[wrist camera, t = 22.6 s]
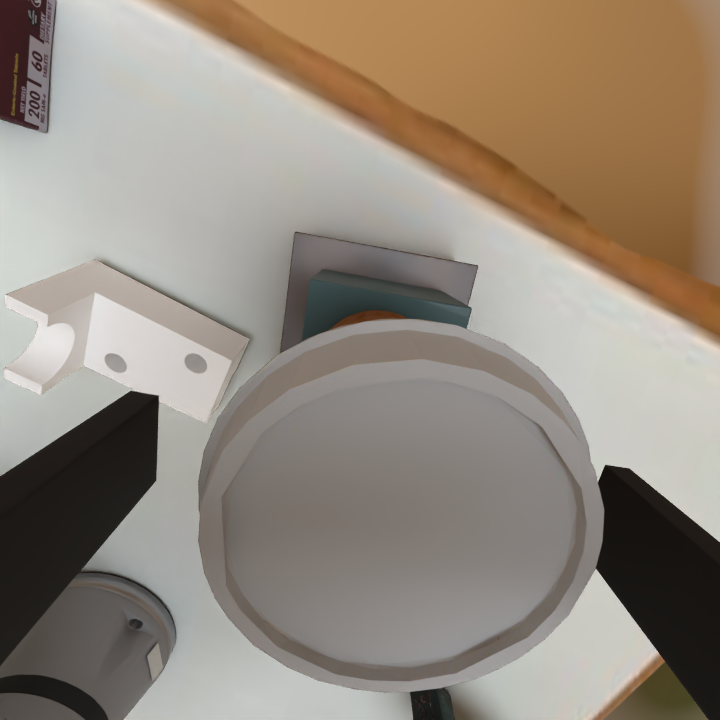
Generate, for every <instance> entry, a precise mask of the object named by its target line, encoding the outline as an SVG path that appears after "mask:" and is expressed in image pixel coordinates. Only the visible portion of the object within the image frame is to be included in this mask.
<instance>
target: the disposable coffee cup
mask: <svg viewBox="0 0 720 720" xmlns="http://www.w3.org/2000/svg"><path fill="white" fill-rule="evenodd" d="M198 485H199V512H200V522H199V539H198V542H199V547H200V553H201V558H202V563H203V569H204V573H205V576H206V578H207V580H208V583H209V585H210V587H211V590H212V592H213V594H214V597H215V599H216V600H217V602H218V603H219V605H220V606H221V608H222V609H223V611H224V612H225V614H226V615H227V617H228V618H229V619H230V621H231V622H232V623H233V624H234V625H235V626H236V627H237V628H238V629H239V630H240V631H241V632H242V633H243V635H244V636H245V637H246V638H247V639H248V640H249V641H250V642H251V643H252V644H253V645H254V646H256V647H257V648H259V649H260V650H262V651H263V652H265V653H266V654H268V655H269V656H271V657H273V658H274V659H276V660H277V661H279V662H280V663H282V664H283V665H285V666H286V667H288V668H291V669H293V670H295V671H297V672H300V673H302V674H304V675H307V676H309V677H311V678H314V679H316V680H318V681H322V682H326V683H330V684H335V685H339V686H343V687H347V688H351V689H357V690H366V691H376V692H385V693H388V692H413V691H421V690H429V689H437V688H444V687H447V686H451V685H455V684H459V683H462V682H466V681H470V680H473V679H476V678H478V677H481V676H483V675H486V674H488V673H490V672H493V671H495V670H497V669H499V668H501V667H503V666H505V665H507V664H509V663H510V662H512V661H514V660H516V659H518V658H520V657H522V656H523V655H524V654H526V653H527V652H528V651H530V650H531V649H533V648H534V647H535V646H537V645H538V644H539V643H541V642H542V641H543V640H545V639H546V638H547V637H548V636H549V635H550V634H551V633H552V632H553V631H554V630H555V629H556V628H557V627H558V626H559V625H560V623H561V622H562V621H563V620H564V619H565V618H566V617H567V616H568V615H569V614H570V612H571V610H572V608H573V607H574V605H575V603H576V602H577V600H578V598H579V596H580V595H581V593H582V591H583V590H584V588H585V586H586V584H587V583H588V581H589V579H590V578H591V576H592V574H593V572H594V571H595V569H596V565H597V561H598V557H599V553H600V549H601V545H602V541H603V524H604V506H603V502H602V498H601V493H600V489H599V485H598V481H597V476H596V472H595V469H594V467H593V465H592V463H591V460H590V452H589V446H588V443H587V440H586V437H585V435H584V432H583V429H582V427H581V424H580V421H579V419H578V417H577V416H576V414H575V412H574V411H573V409H572V407H571V406H570V404H569V402H568V401H567V399H566V398H565V396H564V394H563V393H562V391H561V390H560V389H559V388H558V387H557V386H556V385H555V384H554V383H553V382H552V381H551V380H550V379H549V378H548V377H547V376H546V375H545V374H544V373H543V372H542V371H541V370H540V368H539V367H537V366H536V365H535V364H533V363H532V362H530V361H529V360H527V359H526V358H525V357H523V356H522V355H520V354H519V353H517V352H516V351H515V350H513V349H512V348H510V347H509V346H507V345H506V344H504V343H501V342H499V341H496V340H494V339H491V338H488V337H486V336H483V335H480V334H478V333H475V332H472V331H470V330H467V329H465V328H462V327H460V326H457V325H452V324H446V323H440V322H434V321H428V320H422V319H408V318H406V317H404V316H402V315H400V314H396V313H393V312H389V311H380V310H370V311H363V312H360V313H356V314H353V315H351V316H348V317H346V318H344V319H342V320H341V321H340V322H338V323H337V324H336V325H335V326H333V327H332V328H331V329H330V330H329V331H326V332H323V333H321V334H318V335H316V336H313V337H310V338H308V339H306V340H304V341H303V342H301V343H299V344H297V345H295V346H293V347H292V348H290V349H288V350H286V351H284V352H282V353H280V354H279V355H277V356H275V357H274V358H273V359H272V360H271V361H270V362H269V363H267V364H266V365H265V366H264V367H263V368H262V369H261V370H259V371H258V372H257V373H256V374H255V375H254V376H253V377H251V378H250V379H249V380H248V381H247V382H246V383H245V384H243V385H242V386H241V387H240V388H239V390H238V391H237V392H236V394H235V395H234V396H233V398H232V399H231V401H230V402H229V403H228V405H227V406H226V408H225V409H224V410H223V412H222V413H221V414H220V416H219V417H218V419H217V421H216V424H215V426H214V428H213V431H212V433H211V435H210V438H209V440H208V442H207V445H206V447H205V450H204V453H203V458H202V464H201V470H200V475H199V481H198Z"/></svg>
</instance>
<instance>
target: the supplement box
mask: <svg viewBox="0 0 720 720" xmlns="http://www.w3.org/2000/svg"><path fill="white" fill-rule="evenodd" d="M55 3H56V1H55V0H0V119H1V120H4V121H7V122H10V123H14V124H17V125H21V126H23V127H27V128H30V129H33V130H37V131H40V132H46V131H47V110H48V91H49V73H50V58H51V44H52V32H53V22H54V12H55Z"/></svg>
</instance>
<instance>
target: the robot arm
mask: <svg viewBox="0 0 720 720" xmlns="http://www.w3.org/2000/svg"><path fill="white" fill-rule="evenodd" d="M158 408H159V395H153V394H146V393H140V392H134V391H130V392H128V393H127V394H125V395H124V396H122V397H121V398H119V399H118V400H116V401H115V402H113V403H112V404H110V405H109V406H107V407H106V408H104V409H103V410H101V411H99V412H98V413H96V414H95V415H93V416H92V417H90V418H89V419H87V420H86V421H84V422H83V423H81V424H80V425H78V426H77V427H75V428H74V429H72V430H70V431H69V432H67V433H66V434H64V435H63V436H61V437H60V438H58V439H57V440H55V441H54V442H52V443H51V444H49V445H48V446H46V447H45V448H43V449H41V450H40V451H38V452H37V453H35V454H34V455H32V456H31V457H29V458H28V459H26V460H25V461H23V462H22V463H20V464H19V465H17V466H16V467H14V468H12V469H11V470H9V471H8V472H6V473H5V474H3V475H2V476H0V720H123V719H124V718H125V717H126V716H127V714H128V713H129V712H130V711H131V710H132V708H133V707H134V706H135V705H136V704H137V702H138V701H139V700H140V699H141V697H142V696H143V695H144V694H145V693H146V691H147V690H148V689H149V688H150V687H151V685H152V684H153V683H154V682H155V681H156V679H157V678H158V676H159V675H160V674H161V672H162V671H163V669H164V668H165V665H166V663H167V661H168V659H169V657H170V654H171V652H172V650H173V647H174V644H175V628H174V624H173V621H172V619H171V617H170V615H169V613H168V611H167V610H166V608H165V607H164V606H163V604H162V603H161V602H160V601H159V600H158V599H157V598H156V597H155V596H153V595H152V594H151V593H150V592H148V591H147V590H145V589H144V588H142V587H141V586H139V585H137V584H135V583H133V582H131V581H128V580H126V579H123V578H120V577H117V576H113V575H108V574H101V573H79V572H80V570H81V569H82V568H83V567H84V566H85V565H86V563H87V562H88V561H89V560H90V559H91V557H92V556H93V555H94V554H95V553H96V551H97V550H98V549H99V548H100V547H101V546H102V544H103V543H104V542H105V541H106V540H107V538H108V537H109V536H110V535H111V534H112V532H113V531H114V530H115V529H116V528H117V526H118V525H119V524H120V523H121V522H122V521H123V519H124V518H125V517H126V516H127V515H128V513H129V512H130V511H131V510H132V509H133V507H134V506H135V505H136V504H137V503H138V501H139V500H140V499H141V498H142V497H143V496H144V494H145V493H146V492H147V491H148V490H149V488H150V487H151V486H152V485H153V484H154V482H155V481H156V471H157V439H158ZM598 485H599V489H600V493H601V498H602V502H603V506H604V524H603V541H602V545H601V549H600V553H599V557H598V561H597V565H596V569H597V570H598V572H599V573H600V574H601V576H602V577H603V578H604V580H605V581H606V583H607V584H608V585H609V587H610V588H611V589H612V591H613V592H614V593H615V595H616V596H617V597H618V599H619V600H620V601H621V603H622V604H623V605H624V607H625V608H626V609H627V611H628V612H629V613H630V615H631V616H632V617H633V619H634V620H635V621H636V623H637V624H638V625H639V627H640V628H641V630H642V631H643V632H644V634H645V635H646V636H647V638H648V639H649V640H650V642H651V643H652V644H653V646H654V647H655V648H656V650H657V651H658V652H659V654H660V655H661V656H662V658H663V659H664V660H665V662H666V663H667V664H668V666H669V667H670V668H671V670H672V671H673V672H674V674H675V675H676V676H677V678H678V679H679V680H680V682H681V683H682V685H683V686H684V687H685V688H686V690H687V691H688V693H689V694H690V695H691V696H692V698H693V699H694V701H695V702H696V703H697V705H698V706H699V707H700V709H701V710H702V711H703V713H704V714H705V715H706V717H707V718H708V719H709V720H720V542H719V541H717V540H716V539H715V538H714V537H712V536H711V535H710V534H709V533H708V532H706V531H705V530H704V529H703V528H701V527H700V526H699V525H698V524H697V523H695V522H694V521H693V520H692V519H690V518H689V517H688V516H687V515H686V514H684V513H683V512H682V511H681V510H679V509H678V508H677V507H676V506H674V505H673V504H672V503H671V502H670V501H668V500H667V499H666V498H665V497H663V496H662V495H661V494H660V493H659V492H657V491H656V490H655V489H654V488H652V487H651V486H650V485H649V484H648V483H646V482H645V481H644V480H643V479H641V478H640V477H639V476H638V475H637V474H635V473H634V472H633V471H632V470H630V469H628V468H622V467H615V466H609V465H605V467H604V469H603V472H602V474H601V477H600V479H599V482H598ZM78 573H79V574H78Z"/></svg>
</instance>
